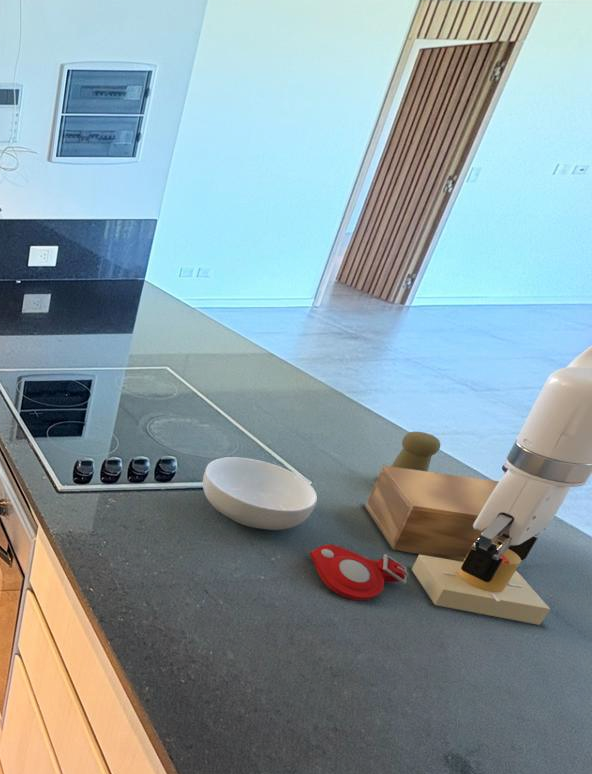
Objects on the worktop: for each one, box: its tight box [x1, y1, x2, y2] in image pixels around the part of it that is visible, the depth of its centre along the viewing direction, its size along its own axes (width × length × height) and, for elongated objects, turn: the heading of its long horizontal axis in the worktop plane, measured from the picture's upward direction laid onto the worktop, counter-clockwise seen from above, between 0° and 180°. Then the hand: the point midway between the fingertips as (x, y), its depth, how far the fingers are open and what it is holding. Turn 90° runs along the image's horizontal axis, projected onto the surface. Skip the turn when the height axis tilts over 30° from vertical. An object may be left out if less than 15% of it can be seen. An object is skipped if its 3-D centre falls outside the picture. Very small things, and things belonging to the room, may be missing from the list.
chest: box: [364, 469, 503, 562], centre depth 101 cm, size 16×13×8 cm
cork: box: [391, 431, 441, 472], centre depth 113 cm, size 6×6×11 cm
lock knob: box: [459, 543, 522, 592], centre depth 87 cm, size 5×5×5 cm
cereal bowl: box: [202, 456, 318, 531], centre depth 106 cm, size 17×17×7 cm
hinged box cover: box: [381, 462, 546, 531], centre depth 97 cm, size 16×13×6 cm
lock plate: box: [411, 554, 551, 626], centre depth 89 cm, size 12×9×3 cm
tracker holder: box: [308, 544, 410, 601], centre depth 93 cm, size 12×4×10 cm
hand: (492, 564), depth 87 cm, fingers open, 9 cm apart
